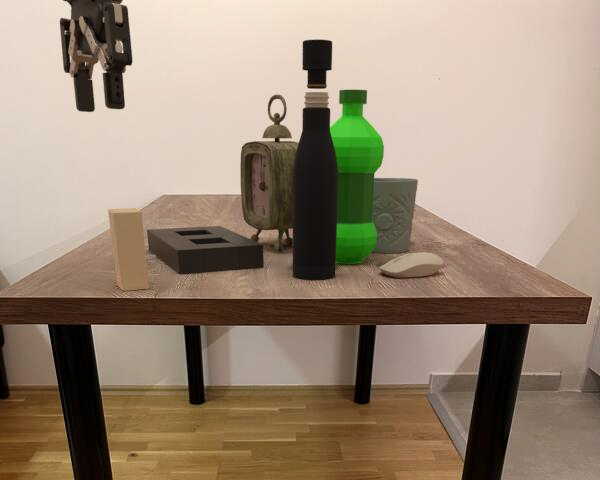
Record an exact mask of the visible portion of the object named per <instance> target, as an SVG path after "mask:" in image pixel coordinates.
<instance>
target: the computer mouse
mask: <svg viewBox="0 0 600 480" xmlns="http://www.w3.org/2000/svg"><path fill="white" fill-rule="evenodd" d="M443 266H444V260H443V259H442V258H441V257H440V256H439V255H436V254H435V253H430V252H411V253H406V254H402V255H400V256H397V257H395V258H393V259H391V260H389V261H387V262H386V263H384V264H383V265H381V266H379V270H380V272H382V274H384V275H386V276H388V277H391V278H396V279H397V278H398V279H400V278H416V277H417V278H418V277H419V278H420V277H427V276H432V275H434V274H436V273H437V272H438V271H439V270H440V269H441V268H442V267H443Z"/></svg>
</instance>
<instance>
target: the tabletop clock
mask: <svg viewBox="0 0 600 480" xmlns="http://www.w3.org/2000/svg"><path fill="white" fill-rule="evenodd" d="M275 100H280V102H281V103H282V105H283V112H282V115H281V114H280V113H279V112H275V113H274V114H273V115H272V114H271V107H272V104H273V102H274V101H275ZM287 110H288V109H287V102H286V100H285V98H284V97H283V95H281V94H274V95H271V97H270V98H269V100H268V103H267V115H268V119H269V120H270V121H271V122H272V123H273V124H271V125H269V126H267V127H266V128H265V129H264V131H263V134H262V139H274V140H272V141H271V140H269V141H268V140H266V141H265V140H264V141H263V140H260V141H259V140H256V141H255V140H254V141H248V142H246V143H244V144H243V145H242V146H241V150H240V164H239V165H240V195H241V196H240V197H241V208H242V215H243V220H244V221H245V223H246V224H247V225H248V226H250V227H251V228H253V229H256V230H257V231H256V233H255V234H254V233H253V234H252V235H251V236H250V239H251V240H253V241H256V242H258V243H259V242H260V237H259V236H260V234H261V233H262V231H277V232H278V235H277V242H276V243H275V244H274V246H273V249H274V250H275V252H277V253H281V252H282V251H283V250H284V245H283V243H282V241H283V237H284V234H285V237H286V238H285V239H284V244H285V246H287V247H293V237H290V231H289V230H293V166H294V160H295V155H296V150H297V147H298V144H299V141H294V140H281V139H293V136H292V133H291V130H290V129H289V128H288V127H287V126H286V125H283V124H281V122H283V121H284V120H285V119H286V115H287Z"/></svg>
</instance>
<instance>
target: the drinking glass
mask: <svg viewBox="0 0 600 480" xmlns="http://www.w3.org/2000/svg"><path fill="white" fill-rule="evenodd" d="M418 183H419V181H418V179H417V178H407V177H406V178H405V177H374V192H373V211H372V221H373V223H374V225H375V228H376V232H377V242H376V245H375V248H374V250H373V251H372V253H376V254H401V253H402V254H403V253H407V252H409V250H410V247H411V238H412V237H411V236H412V230H413V220H414V215H415V208H416V200H417V199H416V198H417V191H418V185H419V184H418Z"/></svg>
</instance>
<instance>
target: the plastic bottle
mask: <svg viewBox="0 0 600 480" xmlns="http://www.w3.org/2000/svg"><path fill="white" fill-rule="evenodd" d="M338 91H339V93H338V96H339V97H338V104H339V105H342V107H341V109H342V110H341V111H342V112H341V116H340V117H339V118H338V119H337V120H336V121H335V122H334V123H333V124H332V125H330V133H331V137H332V140H333V144H334V148H335V152H336V158H337V164H338V203H337V236H336V264H342V265H357V264H361V263H363V260H366V259H367V258H368V257H369V256H370V255H371V254H372V253H373V252H372V251H373V250H374V248H375V245H376V242H377V232H376V228H375V225H374V223H373V221H372V211H373V192H374V178H375V173H376V172H377V171H378V170H379V169H380V168H381V166H382V165H383V159H384V154H385V153H384V152H385V144H384V142H383V141H384V140H383V138H382V136H381V134H380V133H379V132H378V131H377V130H376V128H374V126H373V125H372V124H371V123H370V121H368V120H367V119H366V117H364V105H367V102H368V89H339V90H338Z"/></svg>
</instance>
